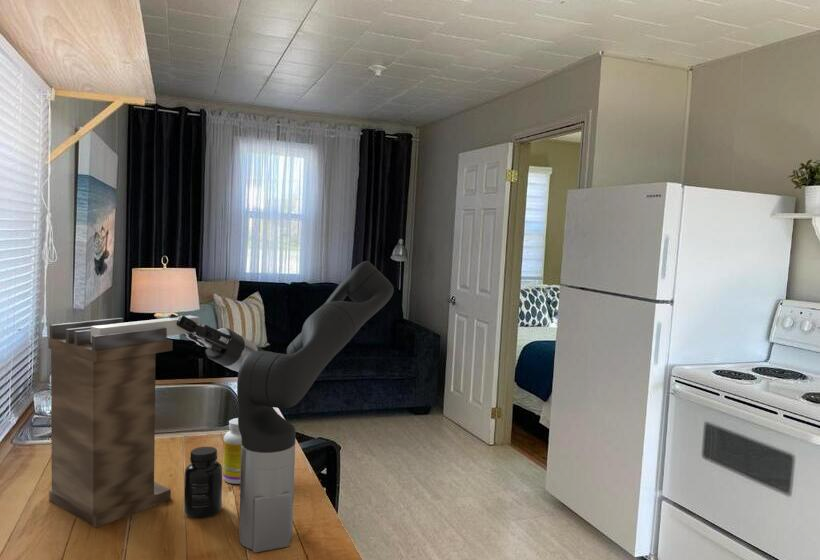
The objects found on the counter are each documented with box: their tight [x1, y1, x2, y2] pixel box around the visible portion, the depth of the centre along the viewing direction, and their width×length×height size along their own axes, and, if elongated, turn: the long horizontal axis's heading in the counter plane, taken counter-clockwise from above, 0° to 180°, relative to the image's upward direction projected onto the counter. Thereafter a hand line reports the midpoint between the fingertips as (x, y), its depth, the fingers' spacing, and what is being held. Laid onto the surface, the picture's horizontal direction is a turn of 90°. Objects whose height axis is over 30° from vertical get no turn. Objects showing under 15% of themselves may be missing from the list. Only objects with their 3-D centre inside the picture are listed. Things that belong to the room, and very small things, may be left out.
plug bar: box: [91, 315, 201, 343], centre depth 119 cm, size 21×3×3 cm, turn 146°
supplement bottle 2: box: [222, 417, 241, 485], centre depth 132 cm, size 7×7×13 cm
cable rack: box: [47, 317, 174, 528], centre depth 119 cm, size 15×17×34 cm
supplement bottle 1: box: [183, 446, 223, 520], centre depth 117 cm, size 7×7×12 cm
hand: (174, 319), depth 123 cm, fingers closed on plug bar, 3 cm apart
